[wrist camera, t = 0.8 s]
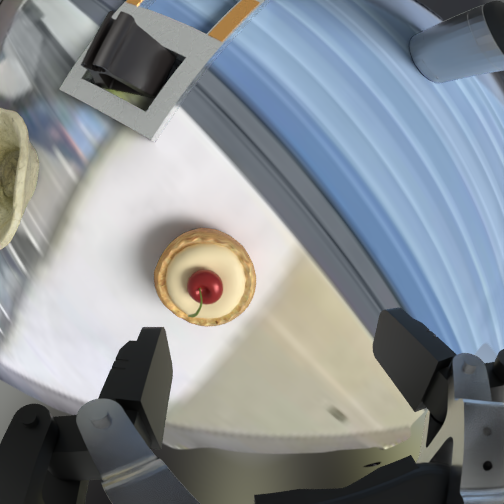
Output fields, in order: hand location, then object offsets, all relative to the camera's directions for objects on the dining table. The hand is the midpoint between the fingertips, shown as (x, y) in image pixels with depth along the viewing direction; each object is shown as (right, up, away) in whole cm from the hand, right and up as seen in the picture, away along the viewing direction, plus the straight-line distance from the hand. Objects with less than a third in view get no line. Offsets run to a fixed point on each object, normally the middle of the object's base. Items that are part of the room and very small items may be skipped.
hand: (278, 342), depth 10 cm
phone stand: (-16, +26, +18) cm, 35 cm away
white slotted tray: (-12, +31, +17) cm, 37 cm away
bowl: (-35, +15, +19) cm, 43 cm away
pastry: (-7, +1, +27) cm, 28 cm away
